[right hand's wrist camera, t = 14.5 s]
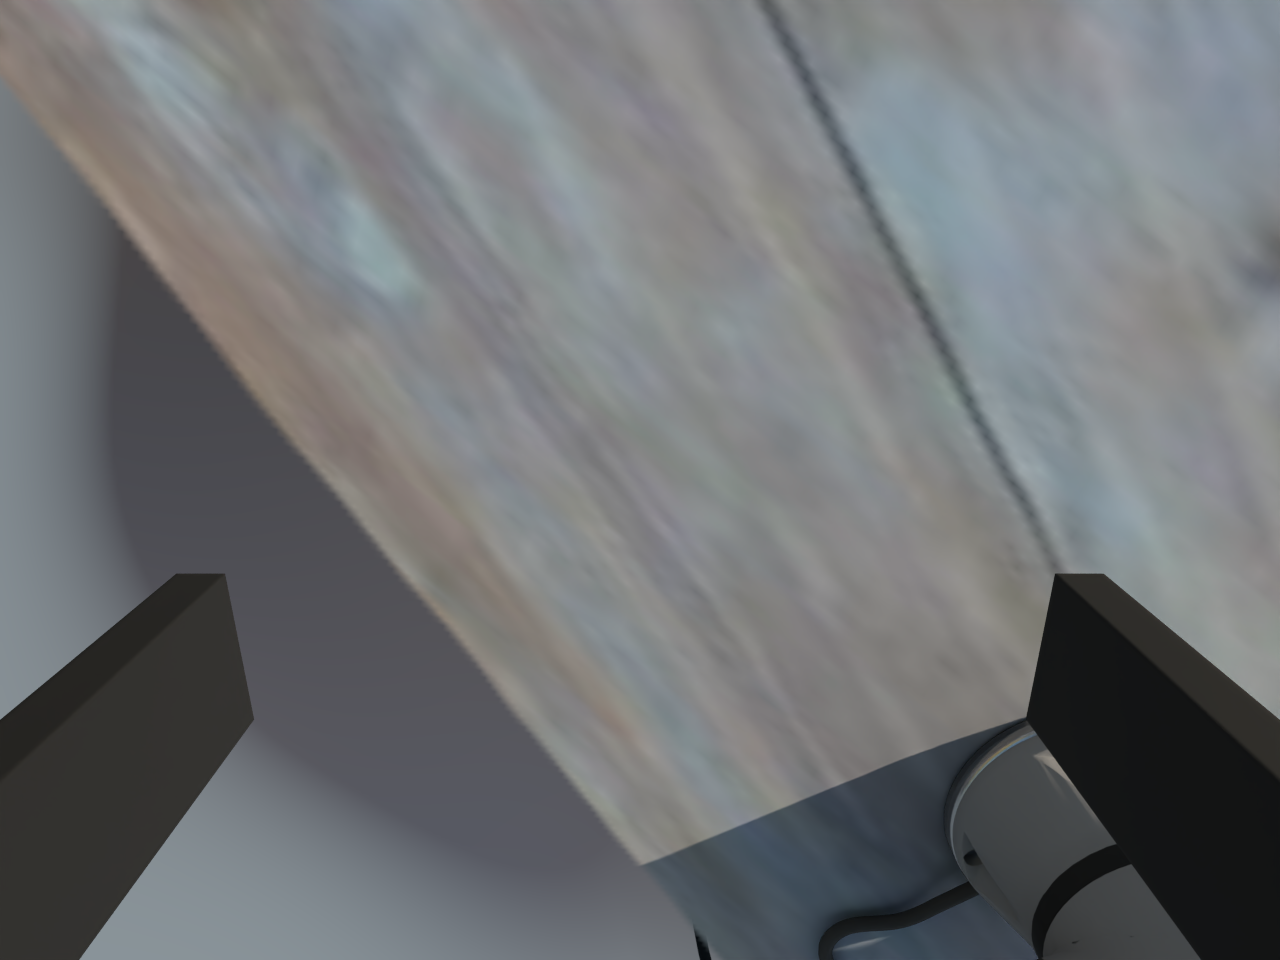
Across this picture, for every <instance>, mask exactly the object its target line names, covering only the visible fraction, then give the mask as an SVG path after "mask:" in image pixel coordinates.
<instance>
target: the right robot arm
mask: <svg viewBox="0 0 1280 960" xmlns="http://www.w3.org/2000/svg"><path fill="white" fill-rule="evenodd" d="M253 720H254V717H253V712H252V707H251V702H250V697H249V692H248V687H247V682H246V677H245V672H244V667H243V662H242V657H241V652H240V647H239V642H238V637H237V632H236V627H235V622H234V617H233V612H232V607H231V602H230V597H229V592H228V587H227V582H226V577H225V574H176V575H174V576H173V577H172V578H171V579H170V580H168V581H167V582H166V583H165V584H163V585H162V586H161V587H160V588H159V589H157V590H156V591H155V592H154V593H153V594H151V595H150V596H149V597H148V598H147V599H145V600H144V601H143V602H142V603H141V604H139V605H138V606H137V607H136V608H135V609H133V610H132V611H131V612H130V613H129V614H127V615H126V616H125V617H124V618H123V619H121V620H120V621H119V622H118V623H116V624H115V625H114V626H113V627H112V628H110V629H109V630H108V631H107V632H106V633H104V634H103V635H102V636H101V637H100V638H98V639H97V640H96V641H95V642H94V643H92V644H91V645H90V646H89V647H87V648H86V649H85V650H84V651H83V652H81V653H80V654H79V655H78V656H77V657H75V658H74V659H73V660H72V661H71V662H69V663H68V664H67V665H66V666H65V667H63V668H62V669H61V670H60V671H59V672H57V673H56V674H55V675H54V676H53V677H51V678H50V679H49V680H48V681H47V682H45V683H44V684H43V685H42V686H41V687H39V688H38V689H37V690H36V691H35V692H33V693H32V694H31V695H30V696H28V697H27V698H26V699H25V700H24V701H22V702H21V703H20V704H19V705H18V706H16V707H15V708H14V709H13V710H12V711H10V712H9V713H8V714H7V715H6V716H4V717H3V718H2V719H1V720H0V960H79V959H80V958H81V956H82V955H83V954H84V952H85V951H86V949H87V948H88V947H89V945H90V944H91V943H92V941H93V940H94V939H95V937H96V936H97V934H98V933H99V932H100V930H101V929H102V928H103V926H104V925H105V923H106V922H107V921H108V919H109V918H110V916H111V915H112V914H113V912H114V911H115V910H116V908H117V907H118V906H119V904H120V903H121V901H122V900H123V899H124V897H125V896H126V895H127V893H128V892H129V890H130V889H131V888H132V886H133V885H134V884H135V882H136V881H137V879H138V878H139V877H140V875H141V874H142V873H143V871H144V870H145V868H146V867H147V866H148V864H149V863H150V862H151V860H152V859H153V857H154V856H155V855H156V853H157V852H158V851H159V849H160V848H161V846H162V845H163V844H164V842H165V841H166V840H167V838H168V837H169V835H170V834H171V833H172V831H173V830H174V829H175V827H176V826H177V825H178V823H179V822H180V820H181V819H182V818H183V816H184V815H185V814H186V812H187V811H188V809H189V808H190V807H191V805H192V804H193V803H194V801H195V800H196V798H197V797H198V796H199V794H200V793H201V792H202V790H203V789H204V787H205V786H206V785H207V783H208V782H209V781H210V779H211V778H212V776H213V775H214V774H215V772H216V771H217V769H218V768H219V767H220V765H221V764H222V763H223V761H224V760H225V758H226V757H227V756H228V754H229V753H230V752H231V750H232V749H233V748H234V746H235V745H236V743H237V742H238V741H239V739H240V738H241V737H242V735H243V734H244V732H245V731H246V730H247V728H248V727H249V725H250V724H251V723H252V721H253ZM1026 720H1027V721H1025V722H1022V723H1020V724H1018V725H1015V726H1013V727H1012V728H1010V729H1008V730H1006V731H1004V732H1002V733H1001V734H999V735H998V736H996V737H994V738H993V739H992V740H990V741H989V742H988V743H986V744H985V745H984V746H983V747H982V748H980V749H979V750H978V751H977V752H976V753H975V754H974V755H973V756H972V757H971V758H970V759H969V760H968V762H967V763H966V764H965V765H964V767H963V768H962V769H961V771H960V772H959V774H958V775H957V777H956V779H955V781H954V783H953V784H952V786H951V789H950V792H949V794H948V797H947V801H946V805H945V812H944V827H945V833H946V838H947V841H948V844H949V846H950V849H951V851H952V853H953V855H954V857H955V859H956V861H957V864H958V865H959V867H960V869H961V871H962V872H963V874H964V875H965V877H966V878H967V879H968V882H966V883H964V884H962V885H960V886H958V887H956V888H954V889H952V890H950V891H948V892H946V893H943V894H941V895H939V896H937V897H935V898H933V899H931V900H929V901H927V902H925V903H923V904H921V905H919V906H917V907H915V908H912V909H910V910H907V911H904V912H900V913H896V914H891V915H880V916H863V917H854V918H849V919H845V920H843V921H840V922H838V923H836V924H835V925H833V926H832V927H831V928H829V929H828V930H827V931H826V932H825V934H824V935H823V936H822V938H821V940H820V943H819V959H820V960H833V957H832V950H833V947H834V945H835V944H836V943H837V942H838V941H839V940H840V939H841V938H843V937H845V936H847V935H849V934H853V933H858V932H866V931H884V930H894V929H900V928H904V927H908V926H911V925H914V924H917V923H919V922H922V921H924V920H926V919H928V918H930V917H932V916H934V915H936V914H938V913H940V912H943V911H945V910H947V909H949V908H951V907H953V906H955V905H958V904H960V903H962V902H964V901H966V900H968V899H970V898H972V897H974V896H977V895H979V894H980V895H981V896H982V897H983V898H984V899H985V900H986V901H987V902H988V903H989V904H990V905H991V906H992V907H993V908H994V909H995V910H996V911H997V912H998V913H999V914H1000V915H1001V916H1002V917H1003V918H1004V919H1005V920H1006V921H1007V922H1008V923H1009V924H1010V925H1011V926H1012V927H1013V928H1014V929H1015V930H1016V931H1017V932H1018V933H1019V934H1020V935H1021V936H1022V937H1023V938H1024V940H1025V941H1026V942H1027V943H1028V944H1029V945H1030V946H1031V947H1032V948H1033V949H1034V951H1035V953H1036V954H1037V956H1038V958H1039V959H1037V960H1280V720H1279V719H1278V718H1277V717H1276V716H1274V715H1273V714H1272V713H1271V712H1270V711H1268V710H1267V709H1266V708H1265V707H1264V706H1262V705H1261V704H1260V703H1259V702H1258V701H1256V700H1255V699H1254V698H1253V697H1252V696H1250V695H1249V694H1248V693H1247V692H1246V691H1244V690H1243V689H1242V688H1241V687H1240V686H1238V685H1237V684H1236V683H1235V682H1233V681H1232V680H1231V679H1230V678H1229V677H1227V676H1226V675H1225V674H1224V673H1223V672H1221V671H1220V670H1219V669H1218V668H1217V667H1215V666H1214V665H1213V664H1212V663H1211V662H1209V661H1208V660H1207V659H1206V658H1205V657H1203V656H1202V655H1201V654H1200V653H1199V652H1197V651H1196V650H1195V649H1194V648H1192V647H1191V646H1190V645H1189V644H1188V643H1186V642H1185V641H1184V640H1183V639H1182V638H1180V637H1179V636H1178V635H1177V634H1176V633H1174V632H1173V631H1172V630H1171V629H1170V628H1168V627H1167V626H1166V625H1165V624H1164V623H1162V622H1161V621H1160V620H1159V619H1158V618H1156V617H1155V616H1154V615H1153V614H1152V613H1150V612H1149V611H1148V610H1147V609H1145V608H1144V607H1143V606H1142V605H1141V604H1139V603H1138V602H1137V601H1136V600H1135V599H1133V598H1132V597H1131V596H1130V595H1129V594H1127V593H1126V592H1125V591H1124V590H1123V589H1121V588H1120V587H1119V586H1118V585H1117V584H1115V583H1114V582H1113V581H1112V580H1111V579H1109V578H1108V577H1107V576H1106V575H1104V574H1055V577H1054V582H1053V587H1052V592H1051V597H1050V602H1049V607H1048V612H1047V617H1046V622H1045V627H1044V632H1043V637H1042V642H1041V647H1040V652H1039V657H1038V662H1037V667H1036V672H1035V677H1034V682H1033V687H1032V692H1031V697H1030V702H1029V707H1028V712H1027V717H1026ZM694 933H695V938H696V944H697V949H698V954H699V958H700V960H712V959H711V955H710V952H709V947H708V944H707V943H706V942H705V941H704V940H703V938H702V937H701V936H700V935H699V934H698V932H697V931H696V930H694Z"/></svg>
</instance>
